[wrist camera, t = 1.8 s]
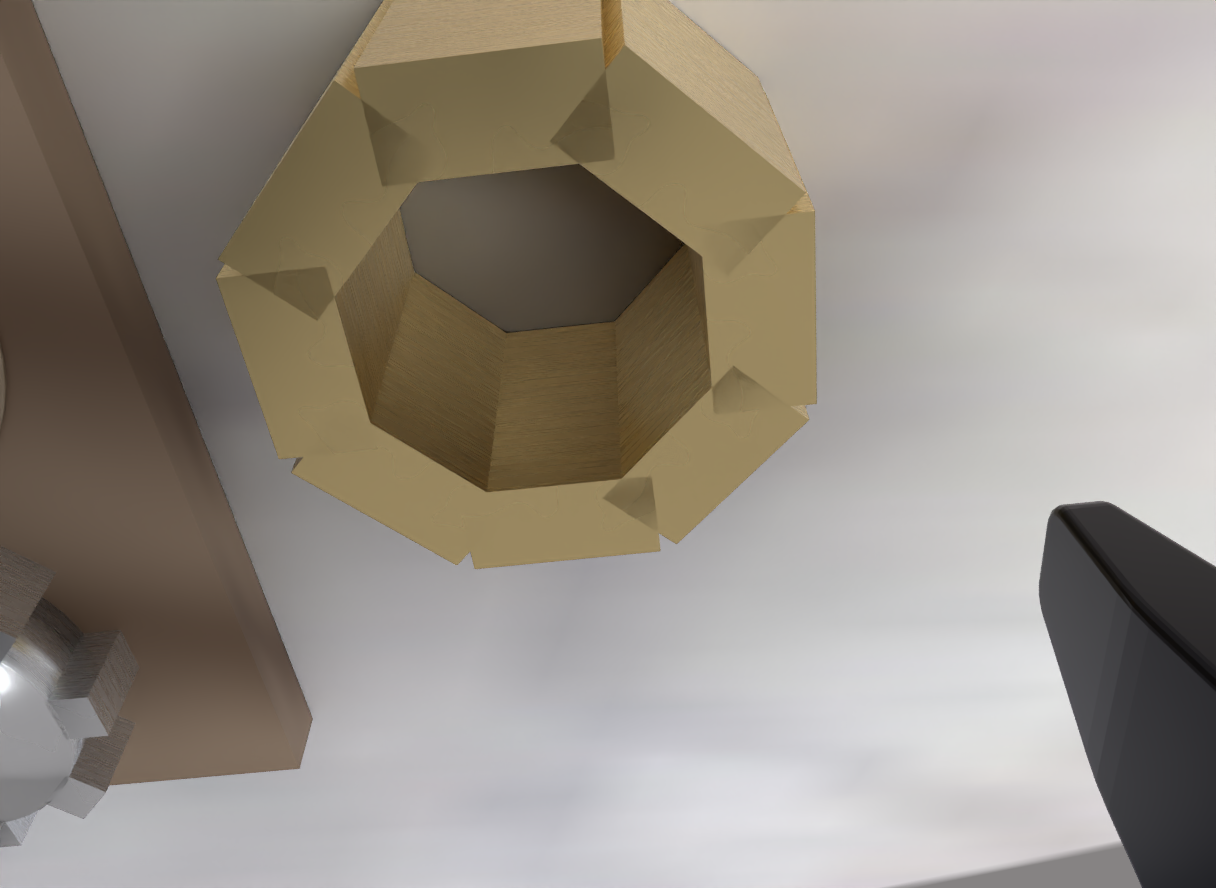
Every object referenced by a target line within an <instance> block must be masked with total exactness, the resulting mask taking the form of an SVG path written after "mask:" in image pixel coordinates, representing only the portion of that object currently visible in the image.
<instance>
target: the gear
mask: <svg viewBox="0 0 1216 888" xmlns="http://www.w3.org/2000/svg"><path fill="white" fill-rule="evenodd" d="M55 573H56V572H55V571H53V570H50V569H48V568H46V567H44V566H42V565H40V564H38V563H36V562H34V561H32V560H30V559H28V558H25V557H23V556H21V555H19V554H17V553H15V552H13V551H11V550H9V549H7V548H5V547H3V546H1V547H0V847H7V846H19V845H22V843H23V841H24V838H25V836H26V834H27V832H28V830H29V828H30V826H31V824H32V822H33V820H34V818H35V816H36V814H37V812H38V810H40V809H42V808H43V807H44V806H46V805H47V804H48V805H50V806H53V807H55V808H58V809H60V810H63V811H65V812H68V813H70V814H73V815H75V816H78V817H80V818H83V819H84V818H85V817H86V816H87V814H88V813H89V812H90V811H91V810H92V808H93V807H94V806H95V805H96V803H97V802H98V801H99V800H100V799H101V797H102V796H103V795H104V794H105V793H106V791H107V788H108V786H109V784H110V781H111V779H112V777H113V775H114V772H115V770H116V768H117V765H118V763H119V761H120V758H121V756H122V754H123V751H124V749H125V747H126V744H127V742H128V740H129V737H130V735H131V733H132V730H133V728H134V726H135V724H136V723H134V722H132V721H130V720H128V719H125V718H123V717H121V716H119V715H118V714H119V711H120V709H121V707H122V705H123V702H124V700H125V698H126V696H127V694H128V691H129V689H130V687H131V685H132V683H133V680H134V678H135V676H136V674H137V671H138V669H139V665H138V664H137V662H136V660H135V658H134V656H133V654H132V652H131V650H130V648H129V646H128V644H127V642H126V640H125V638H124V636H123V634H122V632H121V630H111V631H101V632H90V633H82V631H81V630H80V629H79V628H78V626H77V625H76V624H75V623H74V622H72V621H71V620H70V619H69V618H68V617H67V616H66V615H65V614H64V613H63V612H62V611H60V610H59V609H58V608H57V607H55V606H54V605H53V604H51V603H50V602H49V601H47V600H46V599H44V598H43V597H42V595H43V594H44V592H45V590H46V589H47V587H48V585H49V584H50V582H51V580H52V579H53V577H54V575H55Z"/></svg>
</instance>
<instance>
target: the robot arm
mask: <svg viewBox="0 0 1216 888" xmlns="http://www.w3.org/2000/svg"><path fill="white" fill-rule="evenodd" d="M1039 598H1040V605H1041V610H1042V614H1043V617H1044V621H1045V624H1046V627H1047V630H1048V633H1049V636H1050V640H1051V643H1052V646H1053V649H1054V652H1055V656H1056V659H1057V662H1058V665H1059V668H1060V672H1061V675H1062V678H1063V681H1064V684H1065V688H1066V691H1067V694H1068V697H1069V700H1070V704H1071V707H1072V710H1073V713H1074V716H1075V720H1076V723H1077V726H1078V729H1079V732H1080V736H1081V739H1082V742H1083V745H1084V748H1085V752H1086V755H1087V758H1088V761H1089V764H1090V766H1091V769H1092V772H1093V775H1094V778H1095V781H1096V784H1097V786H1098V789H1099V791H1100V793H1101V796H1102V798H1103V801H1104V803H1105V805H1106V808H1107V810H1108V813H1109V815H1110V817H1111V819H1112V821H1113V824H1114V826H1115V828H1116V830H1117V833H1118V835H1119V837H1120V839H1121V841H1122V844H1123V846H1124V848H1125V850H1126V853H1127V855H1128V857H1129V859H1130V862H1131V864H1132V866H1133V868H1134V870H1135V873H1136V875H1137V877H1138V879H1139V882H1140V884H1141V886H1142V888H1216V567H1215V566H1214V565H1212V564H1211V563H1209V562H1207V561H1206V560H1204V559H1202V558H1201V557H1199V556H1197V555H1196V554H1194V553H1192V552H1191V551H1189V550H1188V549H1186V548H1184V547H1183V546H1181V545H1179V544H1178V543H1176V542H1174V541H1173V540H1171V539H1170V538H1168V537H1166V536H1165V535H1163V534H1161V533H1160V532H1158V531H1156V530H1155V529H1153V528H1151V527H1150V526H1148V525H1147V524H1145V523H1143V522H1142V521H1140V520H1138V519H1137V518H1135V517H1133V516H1132V515H1130V514H1129V513H1127V512H1125V511H1124V510H1122V509H1120V508H1119V507H1117V506H1115V505H1113V504H1111V503H1109V502H1104V501H1095V502H1085V503H1075V504H1065V505H1060V506H1058V507H1056V508H1055V509H1054V510H1052V512H1051V514H1050V517H1049V519H1048V524H1047V531H1046V538H1045V545H1044V552H1043V559H1042V566H1041V573H1040V580H1039Z"/></svg>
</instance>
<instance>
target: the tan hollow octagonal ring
mask: <svg viewBox="0 0 1216 888" xmlns="http://www.w3.org/2000/svg"><path fill="white" fill-rule="evenodd" d="M572 164H580V165H581V166H583V167H584V168H585V169H587V170H588V171H589V172H591V173H592V174H593V175H595V176H596V177H597V178H599V179H600V180H601V181H603V182H604V183H605V184H607V185H608V186H609V187H611V188H612V189H613V190H615V191H616V192H617V193H619V194H620V195H621V196H623V197H624V198H625V199H627V200H628V201H629V202H631V203H632V204H633V205H635V206H636V207H637V208H639V209H640V210H641V211H643V212H644V213H645V214H647V215H648V216H649V217H651V218H652V219H653V220H655V221H656V222H657V223H658V224H660V225H661V226H662V227H664V228H665V229H666V230H668V231H669V232H670V233H672V234H673V235H674V236H676V237H677V238H678V239H680V240H681V241H682V242H684V243H685V244H684V245H683V246H682V247H681V248H680V249H679V251H678V252H677V253H676V254H675V255H674V256H673V257H672V258H671V259H670V261H669V262H668V263H667V264H666V265H665V266H664V267H663V268H662V269H661V271H660V272H659V273H658V274H657V275H656V276H655V277H654V278H653V280H652V281H651V282H650V283H649V284H648V285H647V286H646V287H645V288H644V290H643V291H642V292H641V293H640V294H639V295H638V296H637V297H636V298H635V300H634V301H633V302H632V303H631V304H630V305H629V306H628V307H627V309H626V310H625V311H624V312H623V313H622V314H621V315H620V316H619V317H618V319H617V320H616V321H614V322H604V323H595V324H586V325H577V326H567V327H558V328H549V329H540V330H530V331H521V332H512V333H506V332H504V331H503V330H501V329H500V328H498V327H497V326H495V325H494V324H492V323H491V322H489V321H488V320H486V319H485V318H483V317H482V316H480V315H479V314H477V313H476V312H474V311H473V310H471V309H470V308H468V307H467V306H465V305H464V304H462V303H461V302H459V301H458V300H456V299H455V298H453V297H452V296H450V295H449V294H447V293H446V292H444V291H443V290H441V289H440V288H438V287H437V286H435V285H434V284H432V283H430V282H429V281H427V280H426V279H424V278H423V277H421V276H420V275H418V274H417V273H415V272H414V268H413V264H412V260H411V255H410V251H409V247H408V243H407V238H406V234H405V230H404V226H403V221H402V217H401V213H400V209H399V208H400V206H401V205H402V204H403V202H404V201H405V200H406V198H407V197H408V195H409V194H410V193H411V191H412V190H413V189H414V187H415V186H416V184H417V183H418V182H425V181H434V180H443V179H451V178H460V177H468V176H477V175H486V174H494V173H503V172H512V171H520V170H529V169H537V168H546V167H555V166H563V165H572ZM218 260H220V261H221V262H223V263H224V266H223V268H222V269H221V271H220V273H219V274H218V276H217V277H216V280H217V283H218V286H219V289H220V292H221V295H222V297H223V300H224V303H225V306H226V309H227V312H228V315H229V318H230V320H231V323H232V326H233V329H234V332H235V335H236V338H237V340H238V343H239V346H240V349H241V352H242V355H243V358H244V361H245V363H246V366H247V369H248V372H249V375H250V378H251V381H252V383H253V386H254V389H255V392H256V395H257V398H258V401H259V404H260V406H261V409H262V412H263V415H264V418H265V421H266V424H267V426H268V429H269V432H270V435H271V438H272V441H273V444H274V447H275V449H276V452H277V455H278V458H279V459H287V458H296V457H297V459H296V461H295V464H294V467H293V469H292V472H291V473H292V474H294V475H296V476H298V477H299V478H301V479H303V480H305V481H307V482H308V483H310V484H312V485H314V486H316V487H317V488H319V489H321V490H323V491H325V492H326V493H328V494H330V495H332V496H333V497H335V498H337V499H339V500H341V501H342V502H344V503H346V504H348V505H350V506H351V507H353V508H355V509H357V510H359V511H360V512H362V513H364V514H366V515H367V516H369V517H371V518H373V519H375V520H376V521H378V522H380V523H382V524H384V525H385V526H387V527H389V528H391V529H393V530H394V531H396V532H398V533H400V534H401V535H403V536H405V537H407V538H409V539H410V540H412V541H414V542H416V543H418V544H419V545H421V546H423V547H425V548H427V549H428V550H430V551H432V552H434V553H435V554H437V555H439V556H441V557H443V558H444V559H446V560H448V561H450V562H452V563H453V564H455V565H458V564H459V563H460V562H461V561H462V560H463V559H464V558H465V556H466V555H467V554H468V553H469V552H471V556H472V560H473V564H474V568H475V569H481V568H492V567H502V566H512V565H523V564H533V563H543V562H554V561H564V560H574V559H585V558H595V557H605V556H616V555H626V554H636V553H647V552H657V551H660V539H659V534H661V535H663V536H664V537H666V538H667V539H669V540H671V541H672V542H674V543H675V544H677V543H678V542H679V541H681V540H682V539H683V538H684V537H685V536H686V535H687V534H688V533H689V532H690V531H691V530H692V529H693V528H694V527H695V526H697V525H698V524H699V523H700V522H701V521H702V520H703V519H704V518H705V517H706V516H707V515H708V514H709V513H710V512H711V511H713V510H714V509H715V508H716V507H717V506H718V505H719V504H720V503H721V502H722V501H723V500H724V499H725V498H726V497H727V496H729V495H730V494H731V493H732V492H733V491H734V490H735V489H736V488H737V487H738V486H739V485H740V484H741V483H742V482H743V481H745V480H746V479H747V478H748V477H749V476H750V475H751V474H752V473H753V472H754V471H755V470H756V469H757V468H758V467H759V466H760V465H762V464H763V463H764V462H765V461H766V460H767V459H768V458H769V457H770V456H771V455H772V454H773V453H774V452H775V451H776V450H778V449H779V448H780V447H781V446H782V445H783V444H784V443H785V442H786V441H787V440H788V439H789V438H790V437H791V436H792V435H794V434H795V433H796V432H797V431H798V430H799V429H800V428H801V427H802V426H803V425H804V424H805V423H806V422H807V421H808V420H809V417H808V414H807V411H806V407H805V405H810V404H817V384H816V272H815V210H814V208H813V205H812V203H811V200H810V198H809V196H808V193H807V191H806V189H805V186H804V184H803V181H802V179H801V177H800V174H799V172H798V170H797V167H796V165H795V162H794V160H793V158H792V155H791V153H790V150H789V148H788V146H787V143H786V141H785V139H784V136H783V134H782V131H781V129H780V127H779V124H778V122H777V119H776V117H775V115H774V112H773V110H772V108H771V105H770V103H769V100H768V98H767V96H766V93H765V92H764V91H763V88H762V86H761V83H760V81H759V79H758V77H757V76H756V75H755V74H754V73H753V72H751V71H750V70H749V69H748V68H747V67H746V66H744V65H743V64H742V63H741V62H740V61H739V60H737V59H736V58H735V57H734V56H733V55H732V54H730V53H729V52H728V51H727V50H726V49H724V48H723V47H722V46H721V45H720V44H719V43H717V42H716V41H715V40H714V39H713V38H712V37H710V36H709V35H708V34H707V33H706V32H704V31H703V30H702V29H701V28H700V27H699V26H697V25H696V24H695V23H694V22H693V21H692V20H690V19H689V18H688V17H687V16H686V15H685V14H683V13H682V12H681V11H680V10H679V9H677V8H676V7H675V6H674V5H673V4H672V3H670V2H669V1H668V0H383V2H382V3H381V5H380V7H379V8H378V10H377V11H376V13H375V14H374V16H373V17H372V19H371V20H370V22H369V24H368V25H367V27H366V28H365V30H364V31H363V33H362V34H361V36H360V37H359V39H358V41H357V42H356V44H355V45H354V47H353V48H352V50H351V51H350V53H349V54H348V56H347V58H346V59H345V61H344V62H343V64H342V65H341V67H340V68H339V70H338V71H337V73H336V75H335V76H334V78H333V79H332V81H331V82H330V84H329V85H328V87H327V88H326V90H325V92H324V93H323V95H322V96H321V98H320V99H319V101H318V102H317V104H316V105H315V107H314V108H313V110H312V112H311V113H310V115H309V116H308V118H307V119H306V121H305V122H304V124H303V125H302V127H301V129H300V130H299V132H298V133H297V135H296V136H295V138H294V140H293V141H292V143H291V144H290V146H289V147H288V149H287V151H286V152H285V154H284V155H283V157H282V159H281V160H280V162H279V163H278V165H277V166H276V168H275V170H274V171H273V173H272V174H271V176H270V178H269V179H268V181H267V182H266V184H265V185H264V187H263V189H262V190H261V192H260V193H259V195H258V196H257V198H256V200H255V201H254V203H253V204H252V206H251V208H250V209H249V211H248V212H247V214H246V215H245V217H244V219H243V220H242V222H241V223H240V225H239V227H238V228H237V230H236V231H235V233H234V234H233V236H232V238H231V239H230V241H229V242H228V244H227V246H226V247H225V249H224V250H223V252H222V253H221V255H220V257H219V258H218Z"/></svg>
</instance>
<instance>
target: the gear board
mask: <svg viewBox="0 0 1216 888" xmlns="http://www.w3.org/2000/svg"><path fill="white" fill-rule="evenodd" d="M1 546H3V547H5V548H7V549H9V550H11V551H13V552H15V553H17V554H19V555H21V556H23V557H25V558H28V559H30V560H32V561H34V562H36V563H38V564H40V565H42V566H44V567H46V568H48V569H50V570H53V571H55V572H56V573H55V575H54V577H53V579H52V580H51V582H50V584H49V585H48V587H47V589H46V590H45V592H44V594H43V595H42V597H43V598H44V599H46V600H47V601H49V602H50V603H51V604H53V605H54V606H55V607H57V608H58V609H59V610H60V611H62V612H63V613H64V614H65V615H66V616H67V617H68V618H69V619H70V620H71V621H72V622H74V623H75V624H76V625H77V626H78V628H79V629H80V630H81V631H82V633H90V632H101V631H111V630H121V632H122V634H123V636H124V638H125V640H126V642H127V644H128V646H129V648H130V650H131V652H132V654H133V656H134V658H135V660H136V662H137V664H138V665H139V669H138V671H137V674H136V676H135V678H134V680H133V683H132V685H131V687H130V689H129V691H128V694H127V696H126V698H125V700H124V702H123V705H122V707H121V709H120V711H119V714H118V715H119V716H121V717H123V718H125V719H128V720H130V721H132V722H134V723H136V724H135V726H134V728H133V730H132V733H131V735H130V737H129V740H128V742H127V744H126V747H125V749H124V751H123V754H122V756H121V758H120V761H119V763H118V765H117V768H116V770H115V772H114V775H113V777H112V779H111V781H110V784H109V785H119V784H130V783H141V782H153V781H164V780H175V779H187V778H198V777H210V776H221V775H232V774H244V773H255V772H266V771H278V770H289V769H300V765H301V761H302V757H303V753H304V750H305V746H306V742H307V738H308V734H309V731H310V727H311V723H312V719H313V718H312V716H311V713H310V711H309V708H308V706H307V703H306V701H305V698H304V696H303V693H302V690H301V688H300V685H299V683H298V680H297V678H296V675H295V673H294V670H293V667H292V665H291V662H290V660H289V657H288V655H287V652H286V650H285V647H284V644H283V642H282V639H281V637H280V634H279V632H278V629H277V627H276V624H275V622H274V619H273V616H272V614H271V611H270V609H269V606H268V604H267V601H266V599H265V596H264V593H263V591H262V588H261V586H260V583H259V581H258V578H257V576H256V573H255V570H254V568H253V565H252V563H251V560H250V558H249V555H248V553H247V550H246V548H245V545H244V542H243V540H242V537H241V535H240V532H239V530H238V527H237V525H236V522H235V519H234V517H233V514H232V512H231V509H230V507H229V504H228V502H227V499H226V496H225V494H224V491H223V489H222V486H221V484H220V481H219V479H218V476H217V473H216V471H215V468H214V466H213V463H212V461H211V458H210V456H209V453H208V451H207V448H206V445H205V443H204V440H203V438H202V435H201V433H200V430H199V428H198V425H197V422H196V420H195V417H194V415H193V412H192V410H191V407H190V405H189V402H188V399H187V397H186V394H185V392H184V389H183V387H182V384H181V382H180V379H179V377H178V374H177V371H176V369H175V366H174V364H173V361H172V359H171V356H170V354H169V351H168V348H167V346H166V343H165V341H164V338H163V336H162V333H161V331H160V328H159V325H158V323H157V320H156V318H155V315H154V313H153V310H152V308H151V305H150V302H149V300H148V297H147V295H146V292H145V290H144V287H143V285H142V282H141V280H140V277H139V274H138V272H137V269H136V267H135V264H134V262H133V259H132V257H131V254H130V251H129V249H128V246H127V244H126V241H125V239H124V236H123V234H122V231H121V228H120V226H119V223H118V221H117V218H116V216H115V213H114V211H113V208H112V206H111V203H110V200H109V198H108V195H107V193H106V190H105V188H104V185H103V183H102V180H101V177H100V175H99V172H98V170H97V167H96V165H95V162H94V160H93V157H92V154H91V152H90V149H89V147H88V144H87V142H86V139H85V137H84V134H83V132H82V129H81V126H80V124H79V121H78V119H77V116H76V114H75V111H74V109H73V106H72V103H71V101H70V98H69V96H68V93H67V91H66V88H65V86H64V83H63V80H62V78H61V75H60V73H59V70H58V68H57V65H56V63H55V60H54V57H53V55H52V52H51V50H50V47H49V45H48V42H47V40H46V37H45V35H44V32H43V29H42V27H41V24H40V22H39V19H38V17H37V14H36V12H35V9H34V6H33V4H32V1H31V0H0V547H1Z"/></svg>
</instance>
